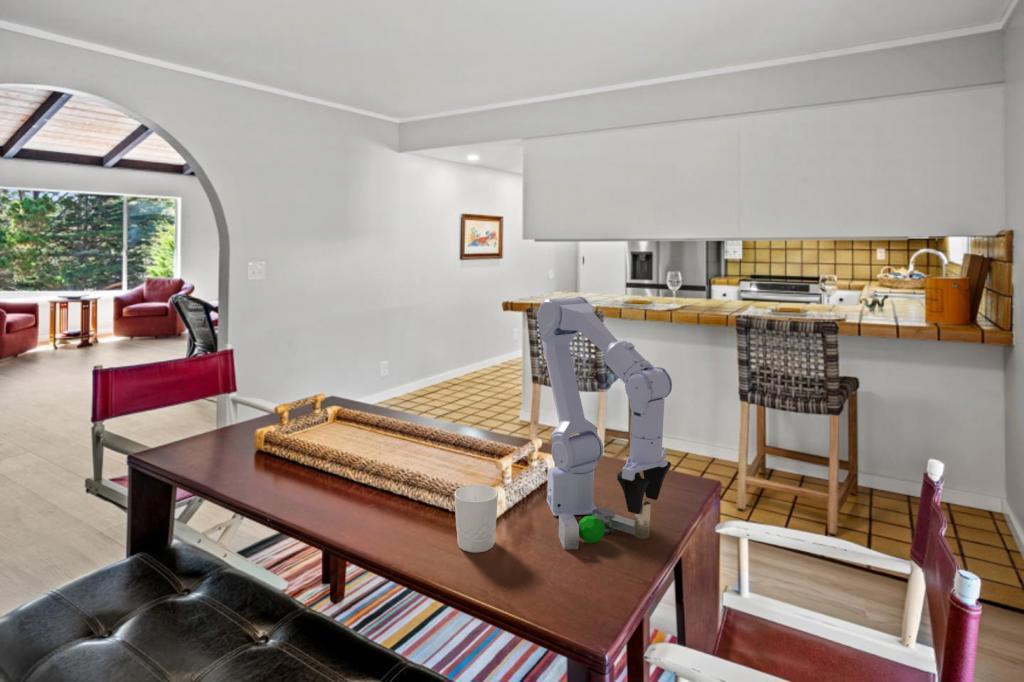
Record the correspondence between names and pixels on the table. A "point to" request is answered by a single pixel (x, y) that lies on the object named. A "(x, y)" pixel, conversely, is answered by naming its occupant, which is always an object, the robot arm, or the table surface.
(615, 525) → the lever
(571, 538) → the light grey block
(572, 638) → the table surface
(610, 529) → the pivot base
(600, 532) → the polyhedron
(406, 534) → the table surface
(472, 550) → the white cup
